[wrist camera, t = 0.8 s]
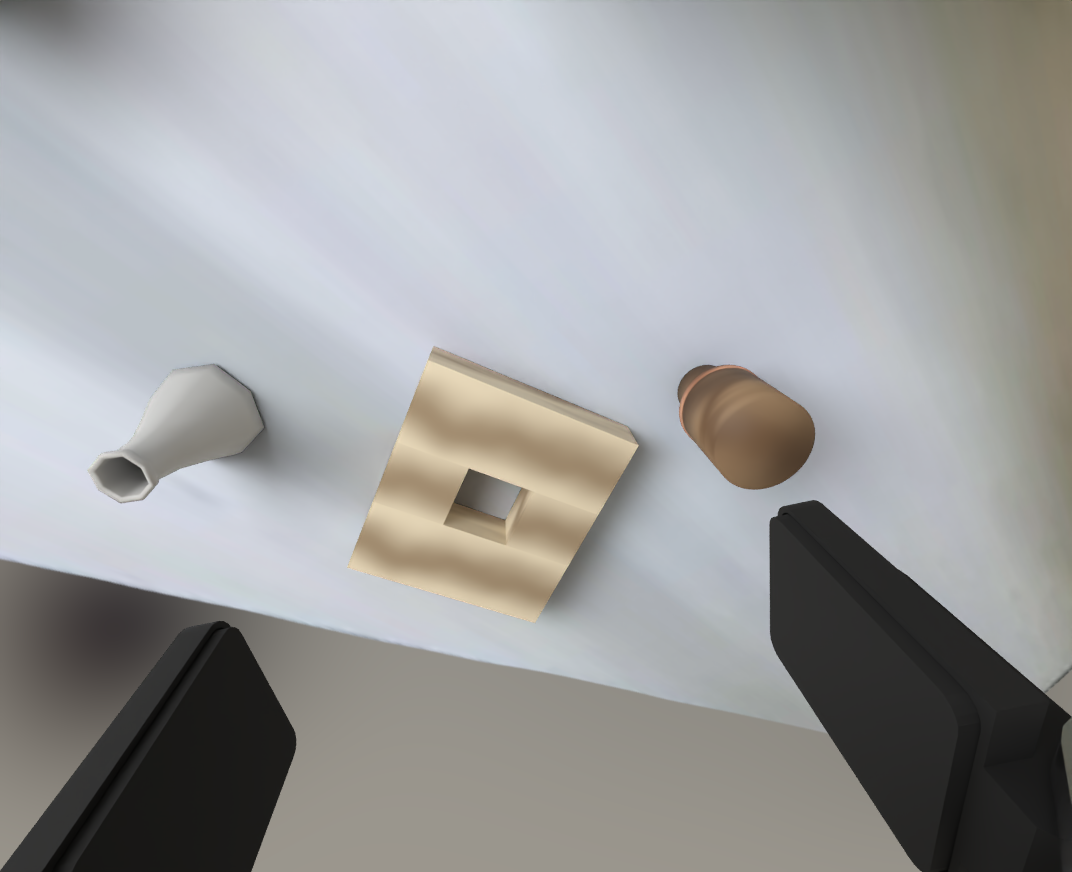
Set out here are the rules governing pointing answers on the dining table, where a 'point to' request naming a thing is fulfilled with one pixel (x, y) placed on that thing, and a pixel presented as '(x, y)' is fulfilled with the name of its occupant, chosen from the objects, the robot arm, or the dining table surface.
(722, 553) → the dining table surface
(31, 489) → the dining table surface
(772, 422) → the peg
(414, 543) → the board
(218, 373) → the flask
